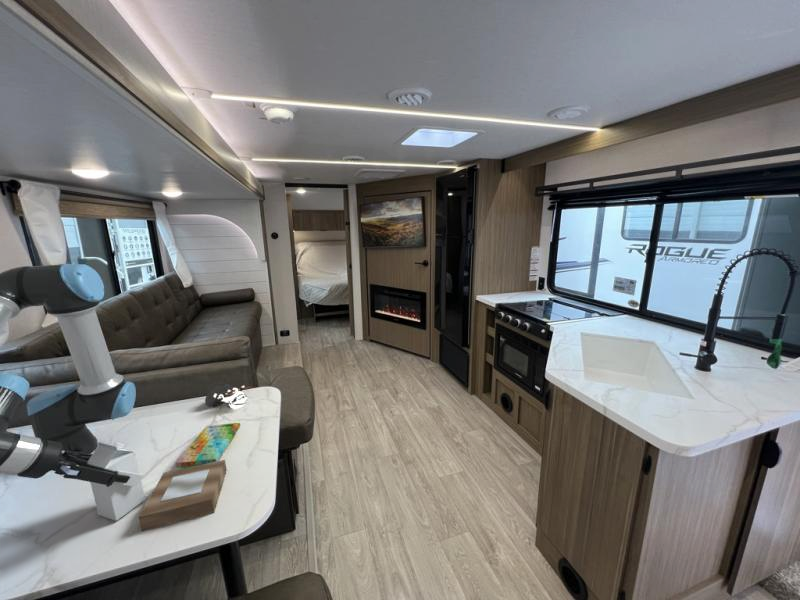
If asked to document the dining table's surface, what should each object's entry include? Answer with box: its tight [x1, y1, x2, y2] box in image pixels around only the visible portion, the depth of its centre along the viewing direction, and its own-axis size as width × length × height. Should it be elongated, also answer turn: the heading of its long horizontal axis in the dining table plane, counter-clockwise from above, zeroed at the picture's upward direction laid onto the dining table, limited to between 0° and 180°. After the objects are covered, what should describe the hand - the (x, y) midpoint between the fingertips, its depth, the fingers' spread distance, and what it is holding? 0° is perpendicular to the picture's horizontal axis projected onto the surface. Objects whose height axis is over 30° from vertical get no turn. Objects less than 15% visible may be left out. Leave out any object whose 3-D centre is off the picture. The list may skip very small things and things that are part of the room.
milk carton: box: [88, 441, 146, 522], centre depth 85 cm, size 7×7×19 cm
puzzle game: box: [175, 422, 241, 469], centre depth 109 cm, size 12×5×20 cm
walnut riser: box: [137, 459, 228, 532], centre depth 89 cm, size 16×16×4 cm
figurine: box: [204, 383, 253, 410], centre depth 138 cm, size 14×10×18 cm
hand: (131, 474), depth 88 cm, fingers closed on milk carton, 8 cm apart
